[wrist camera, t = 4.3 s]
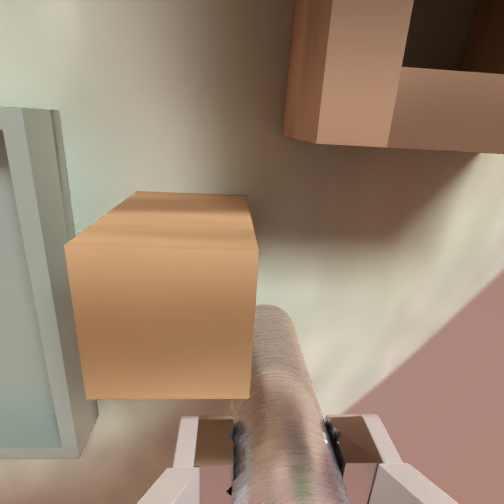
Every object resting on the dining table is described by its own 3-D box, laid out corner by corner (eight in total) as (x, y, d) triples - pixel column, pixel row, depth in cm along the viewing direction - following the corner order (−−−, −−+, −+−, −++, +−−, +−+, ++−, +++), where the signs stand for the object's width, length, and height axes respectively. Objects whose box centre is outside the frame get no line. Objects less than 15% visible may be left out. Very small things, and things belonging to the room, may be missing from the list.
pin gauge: (231, 304, 14) (239, 937, 3) (297, 305, 15) (519, 899, 3) (229, 359, 15) (229, 993, 4) (290, 359, 16) (448, 959, 4)
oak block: (137, 191, 13) (63, 245, 7) (245, 195, 13) (259, 251, 7) (143, 288, 14) (86, 399, 8) (241, 291, 14) (249, 399, 9)
